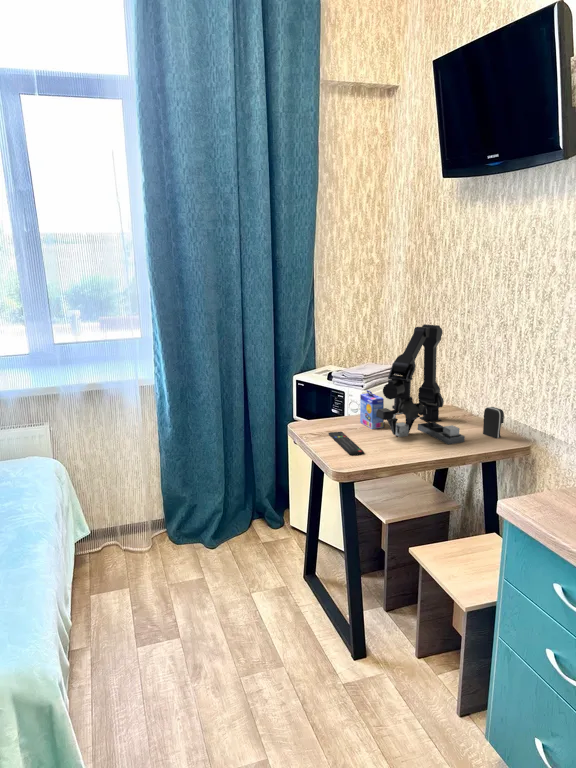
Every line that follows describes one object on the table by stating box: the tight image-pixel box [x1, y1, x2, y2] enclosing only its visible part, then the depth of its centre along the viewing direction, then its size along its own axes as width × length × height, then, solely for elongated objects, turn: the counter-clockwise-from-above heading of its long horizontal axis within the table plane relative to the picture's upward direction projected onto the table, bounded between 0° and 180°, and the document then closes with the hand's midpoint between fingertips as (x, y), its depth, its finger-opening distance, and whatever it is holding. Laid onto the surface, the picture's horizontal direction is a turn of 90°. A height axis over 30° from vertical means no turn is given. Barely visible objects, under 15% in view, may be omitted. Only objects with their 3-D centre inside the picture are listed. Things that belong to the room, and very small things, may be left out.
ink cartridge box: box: [359, 389, 385, 430], centre depth 229 cm, size 10×6×14 cm, turn 23°
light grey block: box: [443, 424, 460, 438], centre depth 209 cm, size 4×4×5 cm
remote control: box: [328, 431, 365, 457], centre depth 209 cm, size 5×24×1 cm, turn 14°
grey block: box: [394, 421, 410, 438], centre depth 216 cm, size 4×4×5 cm
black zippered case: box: [482, 406, 505, 439], centre depth 213 cm, size 7×4×11 cm, turn 30°
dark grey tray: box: [417, 421, 466, 446], centre depth 215 cm, size 19×7×3 cm, turn 22°
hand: (401, 433), depth 216 cm, fingers open, 6 cm apart
